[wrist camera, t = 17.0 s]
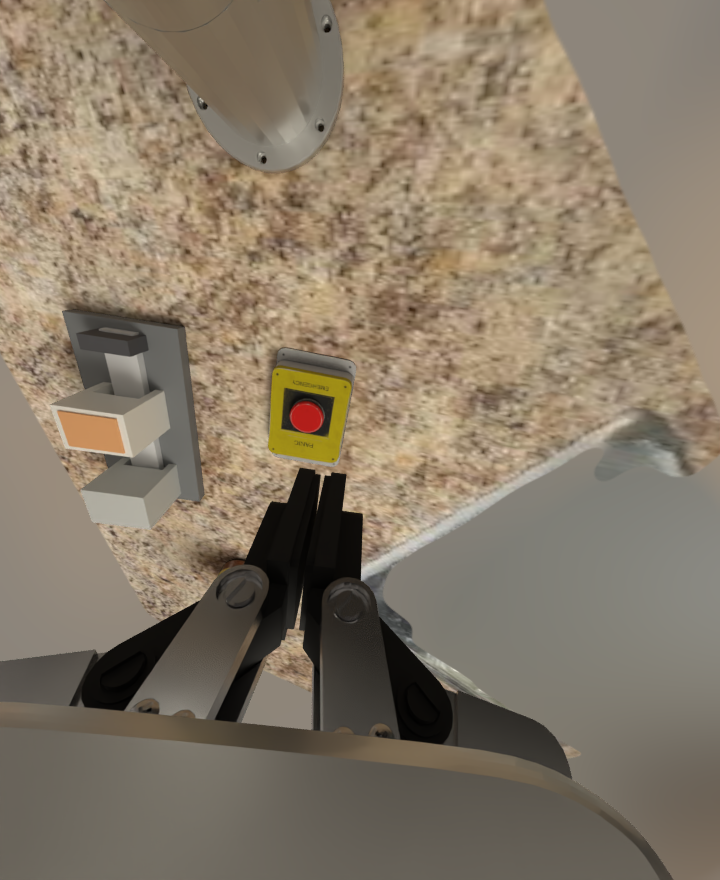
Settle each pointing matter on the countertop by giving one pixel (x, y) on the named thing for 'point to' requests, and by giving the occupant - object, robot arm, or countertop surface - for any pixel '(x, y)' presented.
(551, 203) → the countertop surface
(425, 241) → the countertop surface
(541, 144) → the countertop surface
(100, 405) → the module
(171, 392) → the rail board
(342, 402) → the emergency button
